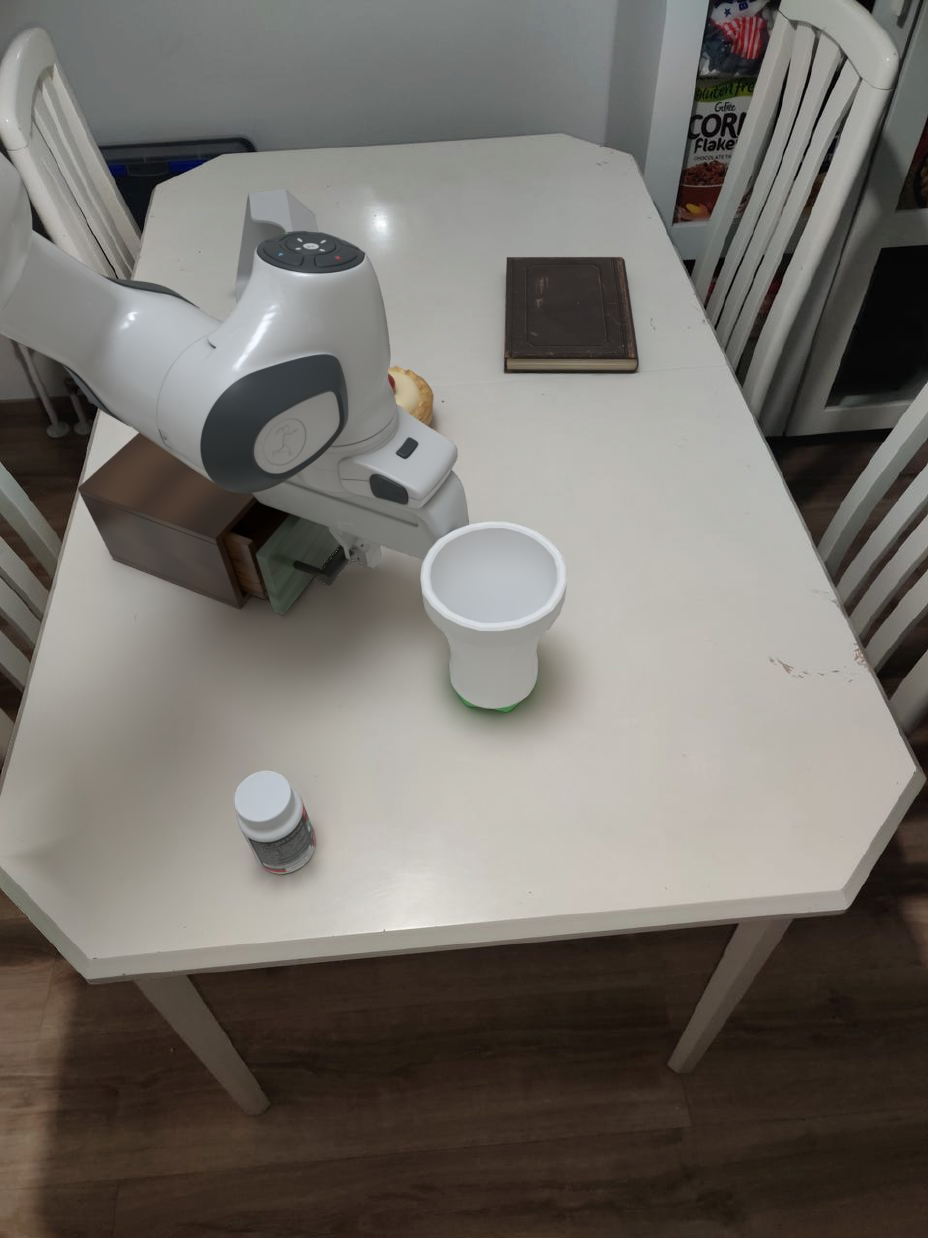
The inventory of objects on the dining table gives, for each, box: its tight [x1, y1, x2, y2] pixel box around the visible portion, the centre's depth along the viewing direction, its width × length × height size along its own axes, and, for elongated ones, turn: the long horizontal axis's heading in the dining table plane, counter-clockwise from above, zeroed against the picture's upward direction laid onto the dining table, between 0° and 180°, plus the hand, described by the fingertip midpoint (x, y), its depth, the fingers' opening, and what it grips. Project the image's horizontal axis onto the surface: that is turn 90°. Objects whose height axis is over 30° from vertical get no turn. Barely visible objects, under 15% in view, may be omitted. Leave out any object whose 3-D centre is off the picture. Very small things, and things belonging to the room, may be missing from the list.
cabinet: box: [77, 432, 258, 610], centre depth 85 cm, size 16×14×10 cm
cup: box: [419, 521, 568, 713], centre depth 71 cm, size 11×11×14 cm
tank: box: [235, 188, 319, 304], centre depth 107 cm, size 25×16×12 cm, turn 12°
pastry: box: [388, 365, 434, 427], centre depth 95 cm, size 12×12×9 cm
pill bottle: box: [233, 769, 317, 875], centre depth 64 cm, size 5×5×8 cm
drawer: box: [222, 501, 351, 616], centre depth 83 cm, size 19×12×8 cm, turn 64°
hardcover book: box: [503, 256, 640, 374], centre depth 111 cm, size 16×23×2 cm
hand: (364, 559), depth 79 cm, fingers closed
